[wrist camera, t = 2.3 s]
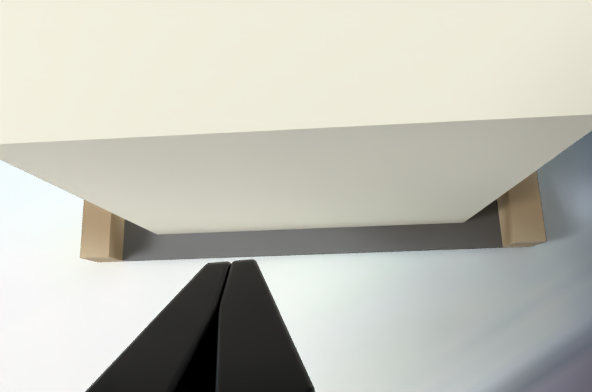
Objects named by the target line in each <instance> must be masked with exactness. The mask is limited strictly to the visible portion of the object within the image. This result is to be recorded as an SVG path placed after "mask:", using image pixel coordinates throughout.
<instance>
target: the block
mask: <svg viewBox="0 0 592 392" xmlns="http://www.w3.org/2000/svg"><path fill="white" fill-rule="evenodd" d="M591 131H592V0H0V160H2V161H4V162H6V163H9V164H11V165H13V166H15V167H17V168H19V169H21V170H23V171H25V172H27V173H30V174H32V175H34V176H36V177H38V178H40V179H42V180H44V181H46V182H48V183H50V184H53V185H55V186H57V187H59V188H61V189H63V190H65V191H67V192H69V193H71V194H73V195H76V196H78V197H80V198H82V199H84V200H86V201H88V202H90V203H92V204H94V205H97V206H99V207H101V208H103V209H105V210H107V211H109V212H111V213H113V214H115V215H117V216H120V217H122V218H124V219H126V220H128V221H130V222H132V223H134V224H136V225H138V226H140V227H143V228H145V229H147V230H149V231H151V232H153V233H155V234H157V235H158V234H184V233H209V232H235V231H261V230H287V229H312V228H338V227H364V226H390V225H415V224H441V223H464V222H465V221H467V220H468V219H469V218H471V217H472V216H474V215H475V214H476V213H478V212H479V211H480V210H482V209H483V208H485V207H486V206H487V205H489V204H490V203H492V202H493V201H494V200H496V199H497V198H499V197H500V196H501V195H503V194H504V193H506V192H507V191H508V190H510V189H511V188H513V187H514V186H515V185H517V184H518V183H520V182H521V181H522V180H524V179H525V178H526V177H528V176H529V175H531V174H532V173H533V172H535V171H536V170H538V169H539V168H540V167H542V166H543V165H545V164H546V163H547V162H549V161H550V160H552V159H553V158H554V157H556V156H557V155H559V154H560V153H561V152H563V151H564V150H566V149H567V148H568V147H570V146H571V145H572V144H574V143H575V142H577V141H578V140H579V139H581V138H582V137H584V136H585V135H586V134H588V133H589V132H591Z"/></svg>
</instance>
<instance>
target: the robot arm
mask: <svg viewBox="0 0 592 392" xmlns="http://www.w3.org/2000/svg"><path fill="white" fill-rule="evenodd" d="M86 392H315V389H314V387H313V384H312V382H311V380H310V378H309V376H308V373H307V371H306V369H305V367H304V365H303V363H302V360H301V358H300V356H299V354H298V352H297V349H296V347H295V345H294V343H293V341H292V338H291V336H290V334H289V332H288V330H287V327H286V325H285V323H284V321H283V319H282V317H281V314H280V312H279V310H278V308H277V306H276V303H275V301H274V299H273V297H272V295H271V292H270V290H269V288H268V286H267V284H266V282H265V279H264V277H263V275H262V273H261V271H260V268H259V266H258V264H257V262H256V261H255V260H253V259H250V260H239V261H234V262H232V264H231V263H230V262H215V263H208V264H206V265H205V266H204V267H203V268H202V269H201V270H200V271H199V272H198V273H197V274H196V275H195V276H194V277H193V279H192V280H191V281H190V282H189V283H188V284H187V285H186V286H185V287H184V288H183V289H182V290H181V291H180V292H179V293H178V294H177V295H176V296H175V298H174V299H173V300H172V301H171V302H170V303H169V304H168V305H167V306H166V307H165V308H164V309H163V310H162V311H161V312H160V313H159V314H158V315H157V317H156V318H155V319H154V320H153V321H152V322H151V323H150V324H149V325H148V326H147V327H146V328H145V329H144V330H143V331H142V332H141V333H140V335H139V336H138V337H137V338H136V339H135V340H134V341H133V342H132V343H131V344H130V345H129V346H128V347H127V348H126V349H125V350H124V351H123V352H122V354H121V355H120V356H119V357H118V358H117V359H116V360H115V361H114V362H113V363H112V364H111V365H110V366H109V367H108V368H107V369H106V370H105V371H104V373H103V374H102V375H101V376H100V377H99V378H98V379H97V380H96V381H95V382H94V383H93V384H92V385H91V386H90V387H89V388H88V389H87V390H86Z"/></svg>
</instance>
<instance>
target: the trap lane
mask: <svg viewBox="0 0 592 392" xmlns="http://www.w3.org/2000/svg"><path fill="white" fill-rule="evenodd" d="M545 241H546V234H545V227H544V220H543V213H542V206H541V199H540V192H539V185H538V178H537V171H535V172H533V173H532V174H531V175H529V176H528V177H526V178H525V179H524V180H522V181H521V182H520V183H518V184H517V185H515V186H514V187H513V188H511V189H510V190H508V191H507V192H506V193H504V194H503V195H501V196H500V197H499V198H497V199H496V200H494V201H493V202H492V203H490V204H489V205H487V206H486V207H485V208H483V209H482V210H480V211H479V212H478V213H476V214H475V215H474V216H472V217H471V218H469V219H468V220H467V221H465V222H464V223H441V224H415V225H390V226H364V227H338V228H312V229H287V230H261V231H235V232H209V233H184V234H158V235H157V234H155V233H153V232H151V231H149V230H147V229H145V228H143V227H140V226H138V225H136V224H134V223H132V222H130V221H128V220H126V219H124V218H122V217H120V216H117V215H115V214H113V213H111V212H109V211H107V210H105V209H103V208H101V207H99V206H97V205H94V204H92V203H90V202H88V201H86V200H84V207H83V221H82V236H81V250H80V258H83V259H87V260H91V261H95V262H116V261H144V260H172V259H199V258H227V257H255V256H283V255H311V254H339V253H366V252H394V251H422V250H450V249H478V248H505V247H530V246H533V245H536V244H539V243H542V242H545Z"/></svg>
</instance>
